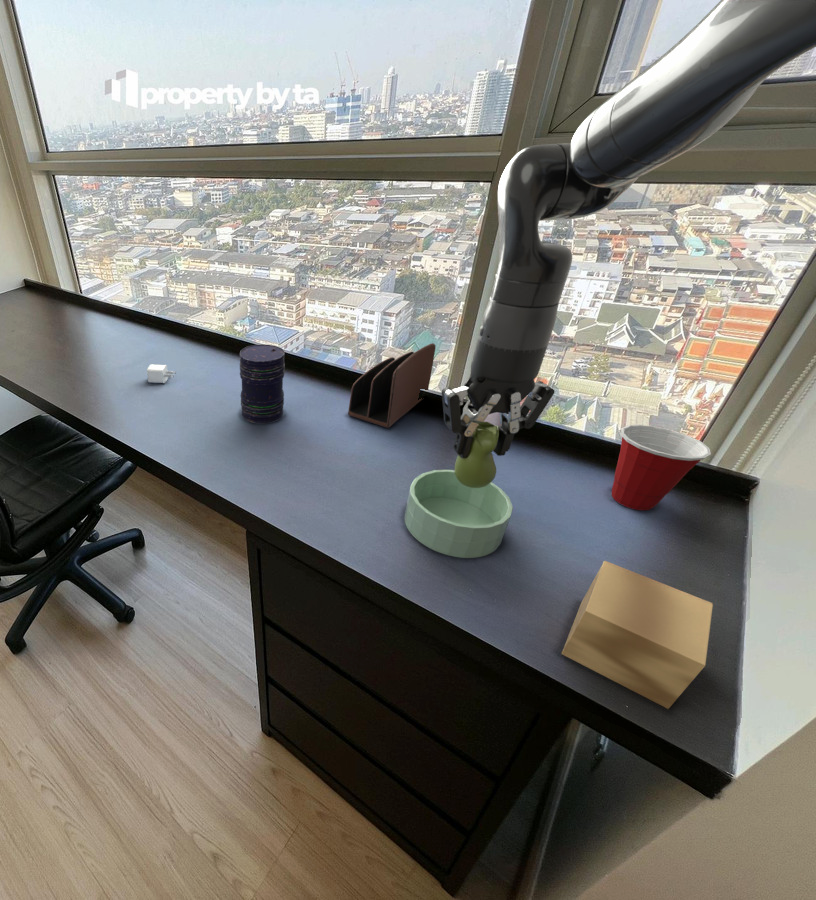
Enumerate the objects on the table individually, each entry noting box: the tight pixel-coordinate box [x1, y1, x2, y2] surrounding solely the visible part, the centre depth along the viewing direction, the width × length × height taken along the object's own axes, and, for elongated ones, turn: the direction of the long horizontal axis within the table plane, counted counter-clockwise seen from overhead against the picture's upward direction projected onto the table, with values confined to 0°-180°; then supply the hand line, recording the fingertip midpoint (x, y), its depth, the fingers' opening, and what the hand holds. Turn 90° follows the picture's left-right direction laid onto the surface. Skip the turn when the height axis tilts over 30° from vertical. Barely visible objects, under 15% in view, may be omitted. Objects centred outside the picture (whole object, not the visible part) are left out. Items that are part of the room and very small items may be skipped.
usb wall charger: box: [146, 364, 177, 384], centre depth 129 cm, size 4×7×4 cm, turn 79°
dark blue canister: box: [239, 343, 286, 425], centre depth 108 cm, size 10×10×15 cm
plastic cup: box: [611, 423, 712, 511], centre depth 77 cm, size 11×11×12 cm
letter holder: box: [347, 343, 436, 429], centre depth 108 cm, size 10×20×14 cm, turn 137°
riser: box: [561, 560, 714, 710], centre depth 55 cm, size 10×10×8 cm
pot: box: [404, 469, 514, 559], centre depth 75 cm, size 14×14×6 cm
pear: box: [454, 422, 499, 488], centre depth 68 cm, size 6×5×10 cm
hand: (479, 453), depth 67 cm, fingers closed on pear, 4 cm apart
